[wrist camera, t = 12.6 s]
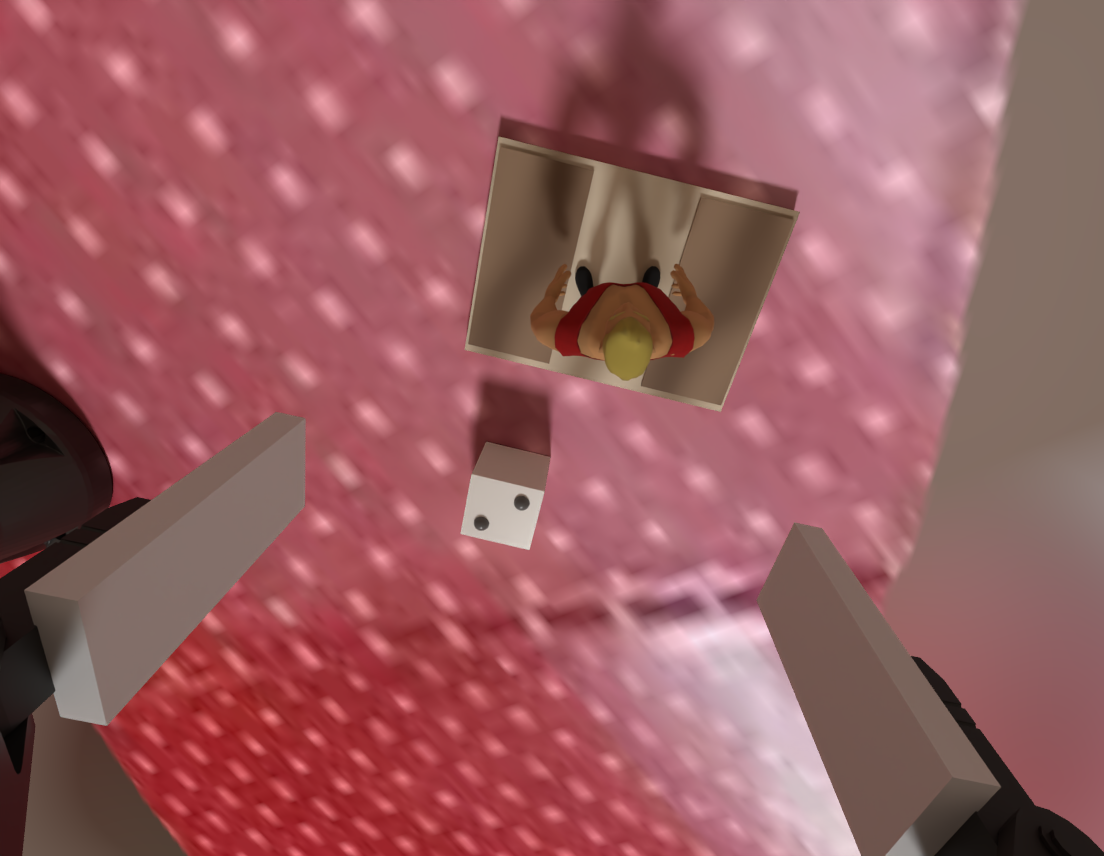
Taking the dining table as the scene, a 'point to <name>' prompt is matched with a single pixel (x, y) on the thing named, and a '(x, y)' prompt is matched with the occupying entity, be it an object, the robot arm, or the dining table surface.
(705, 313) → the action figure
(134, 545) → the robot arm
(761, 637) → the dining table surface
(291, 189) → the dining table surface
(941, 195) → the dining table surface
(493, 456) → the die
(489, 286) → the board
